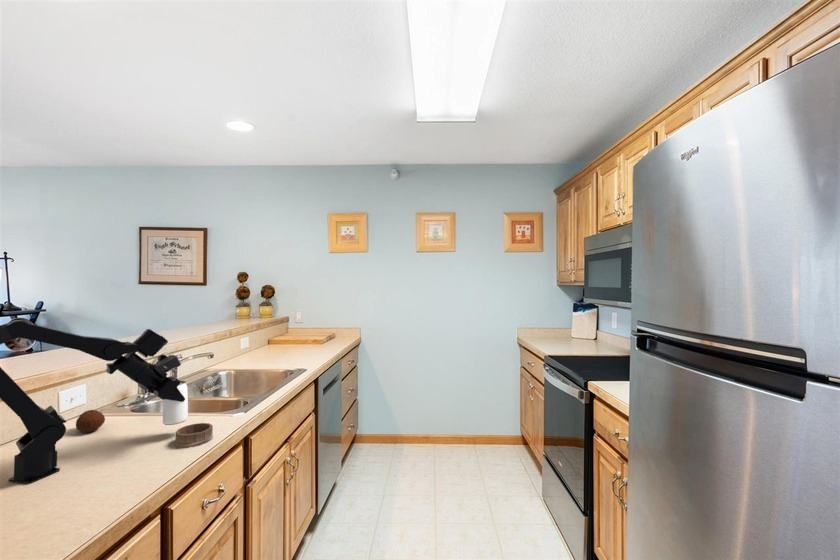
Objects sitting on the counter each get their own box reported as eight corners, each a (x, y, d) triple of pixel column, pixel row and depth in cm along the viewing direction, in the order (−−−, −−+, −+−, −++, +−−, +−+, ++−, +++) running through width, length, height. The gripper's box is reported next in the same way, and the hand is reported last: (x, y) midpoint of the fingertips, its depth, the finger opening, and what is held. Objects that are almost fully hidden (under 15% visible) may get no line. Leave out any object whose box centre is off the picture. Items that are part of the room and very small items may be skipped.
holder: (195, 448, 102) (195, 436, 102) (166, 446, 104) (167, 434, 104) (219, 435, 112) (220, 424, 112) (193, 432, 114) (193, 421, 114)
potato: (105, 423, 121) (105, 404, 121) (104, 432, 114) (105, 412, 114) (76, 429, 116) (77, 409, 117) (74, 438, 109) (74, 417, 110)
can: (191, 420, 113) (191, 382, 113) (168, 427, 107) (168, 387, 107) (181, 416, 116) (181, 379, 116) (158, 423, 111) (158, 384, 111)
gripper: (173, 351, 103) (213, 381, 112) (151, 344, 115) (188, 372, 123) (139, 384, 97) (184, 413, 106) (119, 373, 108) (161, 401, 117)
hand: (180, 398), depth 113 cm, fingers closed on can, 6 cm apart
